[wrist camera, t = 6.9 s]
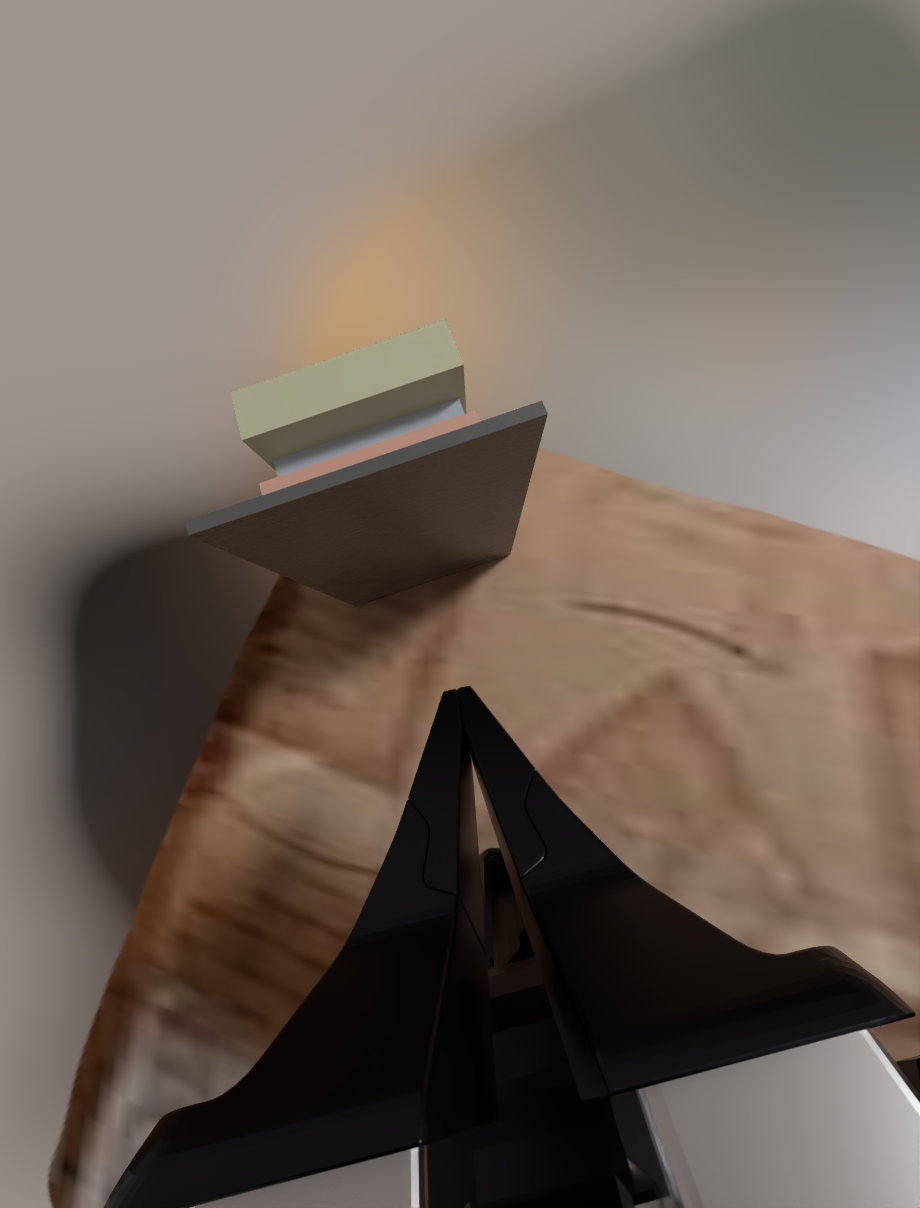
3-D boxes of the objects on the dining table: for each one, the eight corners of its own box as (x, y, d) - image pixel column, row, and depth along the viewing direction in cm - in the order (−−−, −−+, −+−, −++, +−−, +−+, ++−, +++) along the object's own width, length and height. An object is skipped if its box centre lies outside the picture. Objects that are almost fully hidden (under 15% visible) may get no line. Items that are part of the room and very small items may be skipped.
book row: (487, 551, 24) (494, 445, 12) (371, 589, 24) (261, 524, 12) (462, 482, 25) (446, 318, 13) (351, 519, 25) (230, 392, 13)
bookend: (510, 554, 24) (547, 414, 10) (355, 606, 24) (187, 535, 10) (507, 548, 24) (542, 400, 10) (353, 599, 24) (185, 521, 11)
